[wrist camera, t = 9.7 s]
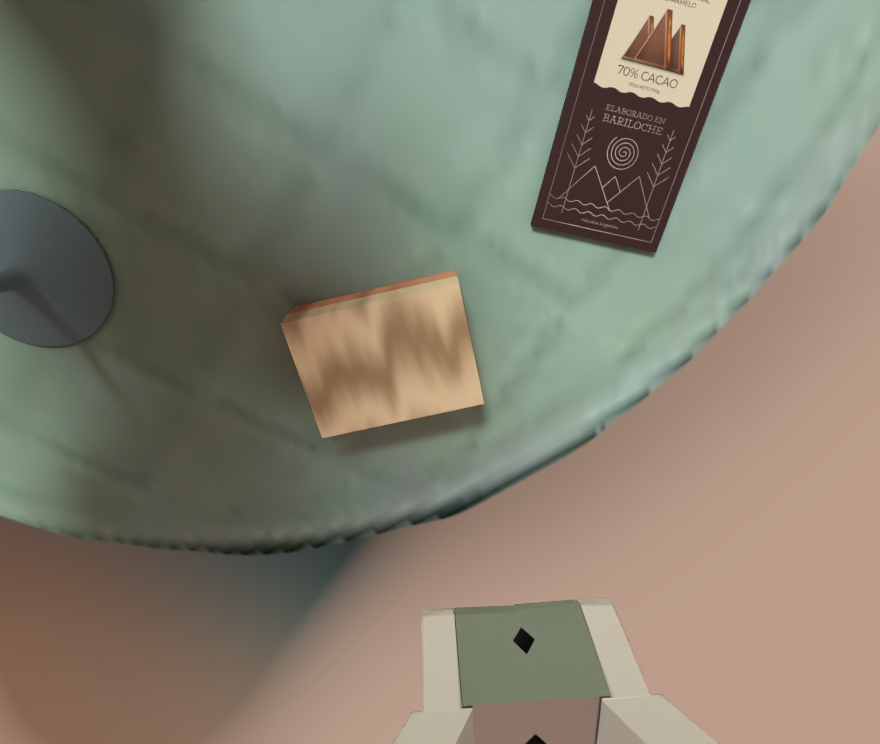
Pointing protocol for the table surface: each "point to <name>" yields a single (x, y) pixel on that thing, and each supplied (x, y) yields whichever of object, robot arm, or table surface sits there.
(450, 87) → the table surface
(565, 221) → the chocolate bar
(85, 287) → the cocktail glass
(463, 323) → the tan wooden block
